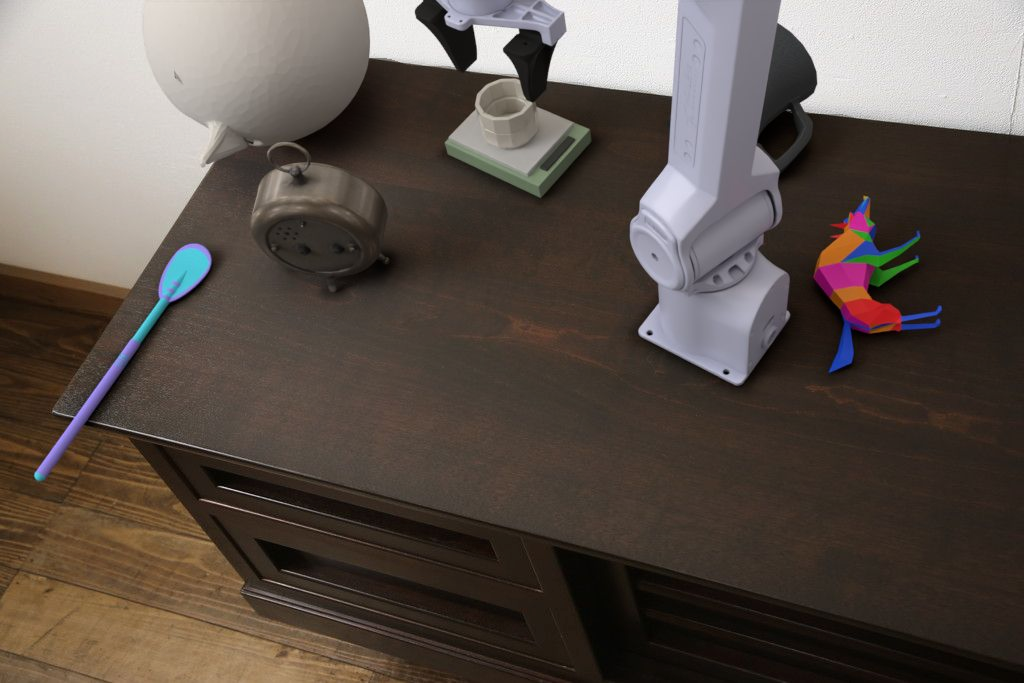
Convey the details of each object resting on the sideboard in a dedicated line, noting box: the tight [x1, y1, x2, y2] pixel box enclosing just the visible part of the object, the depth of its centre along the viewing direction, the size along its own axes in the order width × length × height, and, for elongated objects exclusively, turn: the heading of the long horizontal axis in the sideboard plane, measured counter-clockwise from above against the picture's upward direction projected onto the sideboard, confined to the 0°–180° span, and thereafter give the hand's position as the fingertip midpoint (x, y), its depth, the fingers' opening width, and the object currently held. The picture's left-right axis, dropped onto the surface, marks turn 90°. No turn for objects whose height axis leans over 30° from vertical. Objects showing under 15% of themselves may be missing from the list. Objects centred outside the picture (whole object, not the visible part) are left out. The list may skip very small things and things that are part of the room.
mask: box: [141, 0, 371, 168], centre depth 100 cm, size 22×18×20 cm
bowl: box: [474, 78, 539, 149], centre depth 98 cm, size 5×5×4 cm
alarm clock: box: [249, 141, 390, 293], centre depth 89 cm, size 11×5×16 cm, turn 84°
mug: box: [667, 22, 818, 175], centre depth 94 cm, size 12×9×11 cm
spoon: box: [33, 242, 213, 482], centre depth 93 cm, size 25×4×1 cm, turn 156°
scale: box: [444, 106, 592, 199], centre depth 100 cm, size 11×8×2 cm
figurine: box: [813, 195, 943, 374], centre depth 85 cm, size 4×15×9 cm
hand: (501, 79), depth 93 cm, fingers open, 7 cm apart
